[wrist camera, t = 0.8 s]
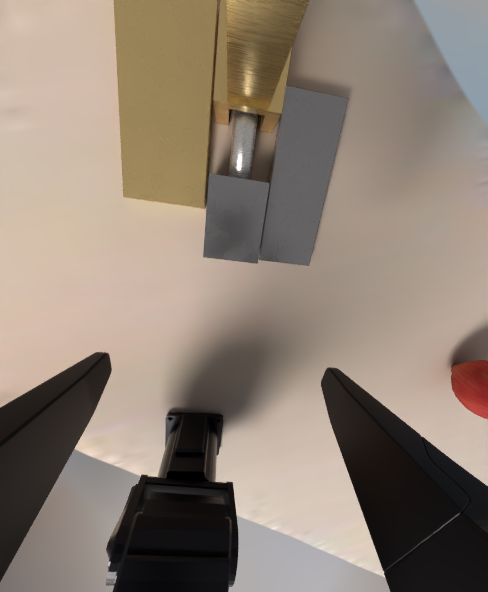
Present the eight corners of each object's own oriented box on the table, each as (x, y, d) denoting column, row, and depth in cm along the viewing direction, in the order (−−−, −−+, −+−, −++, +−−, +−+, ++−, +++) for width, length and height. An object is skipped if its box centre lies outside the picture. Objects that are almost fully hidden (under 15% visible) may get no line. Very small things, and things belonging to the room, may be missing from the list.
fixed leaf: (305, 263, 20) (316, 270, 18) (206, 251, 19) (203, 257, 17) (353, 52, 15) (379, 18, 13) (223, 21, 14) (222, -23, 12)
